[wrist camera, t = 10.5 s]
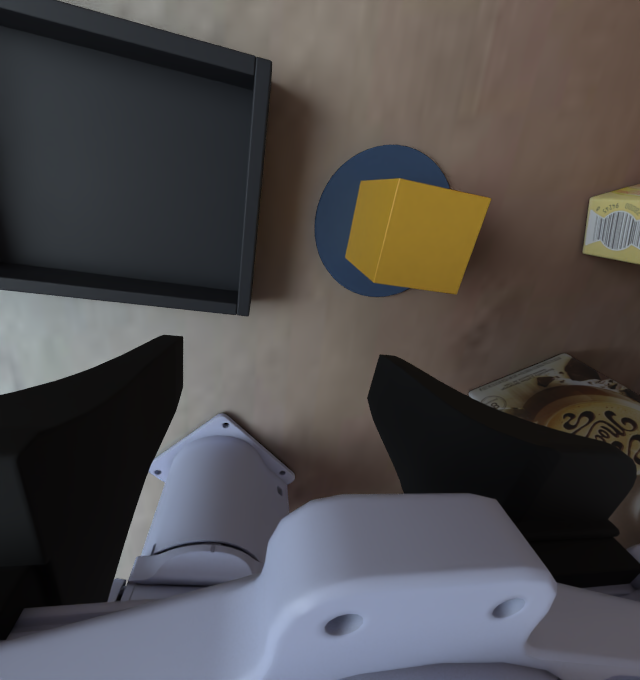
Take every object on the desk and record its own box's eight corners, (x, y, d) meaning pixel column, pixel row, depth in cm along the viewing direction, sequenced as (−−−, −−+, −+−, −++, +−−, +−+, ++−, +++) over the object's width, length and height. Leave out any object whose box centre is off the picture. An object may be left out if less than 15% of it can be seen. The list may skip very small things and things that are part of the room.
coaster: (470, 243, 22) (474, 244, 21) (361, 319, 23) (363, 321, 23) (413, 109, 18) (416, 107, 17) (285, 209, 19) (285, 209, 19)
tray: (271, 80, 16) (272, 60, 14) (250, 301, 21) (248, 316, 18) (-108, -21, 13) (-201, -73, 10) (-30, 267, 18) (-81, 281, 15)
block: (429, 195, 20) (492, 198, 14) (408, 267, 21) (457, 294, 16) (360, 180, 19) (399, 178, 13) (344, 257, 20) (373, 283, 15)
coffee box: (565, 348, 27) (905, 533, 13) (565, 403, 30) (842, 603, 16) (465, 390, 27) (687, 616, 13) (475, 440, 30) (666, 670, 16)
